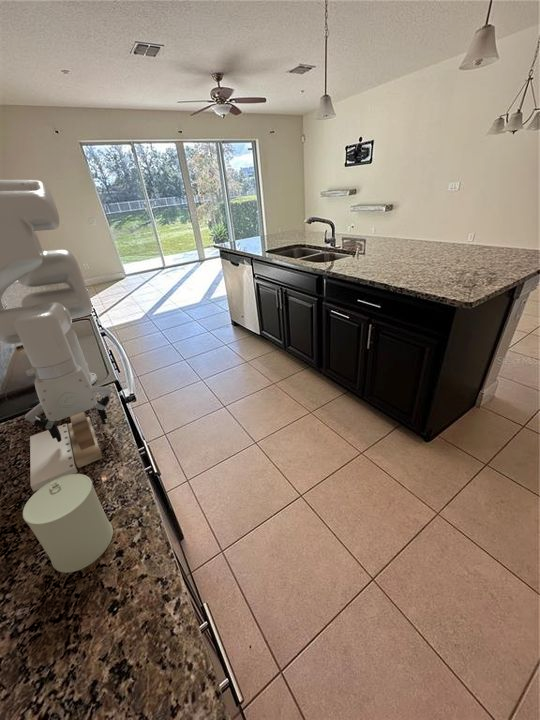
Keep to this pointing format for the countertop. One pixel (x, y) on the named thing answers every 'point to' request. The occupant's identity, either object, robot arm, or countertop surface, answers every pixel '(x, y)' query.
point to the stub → (83, 440)
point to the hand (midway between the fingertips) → (82, 430)
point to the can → (69, 522)
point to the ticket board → (50, 457)
